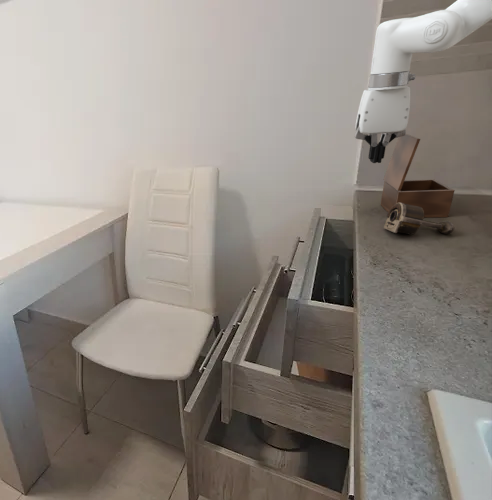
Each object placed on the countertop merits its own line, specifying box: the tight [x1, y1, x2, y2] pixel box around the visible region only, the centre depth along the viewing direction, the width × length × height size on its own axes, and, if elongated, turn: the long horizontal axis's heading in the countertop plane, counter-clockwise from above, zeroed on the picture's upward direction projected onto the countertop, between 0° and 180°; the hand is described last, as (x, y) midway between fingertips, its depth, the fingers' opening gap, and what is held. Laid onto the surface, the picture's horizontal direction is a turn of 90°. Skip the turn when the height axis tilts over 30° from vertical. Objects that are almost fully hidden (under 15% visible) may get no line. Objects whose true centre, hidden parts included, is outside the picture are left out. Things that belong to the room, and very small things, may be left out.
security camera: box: [383, 202, 456, 235], centre depth 81 cm, size 7×13×10 cm
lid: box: [383, 133, 421, 191], centre depth 90 cm, size 12×10×1 cm
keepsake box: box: [379, 178, 455, 219], centre depth 93 cm, size 11×10×7 cm
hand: (375, 161), depth 92 cm, fingers closed
